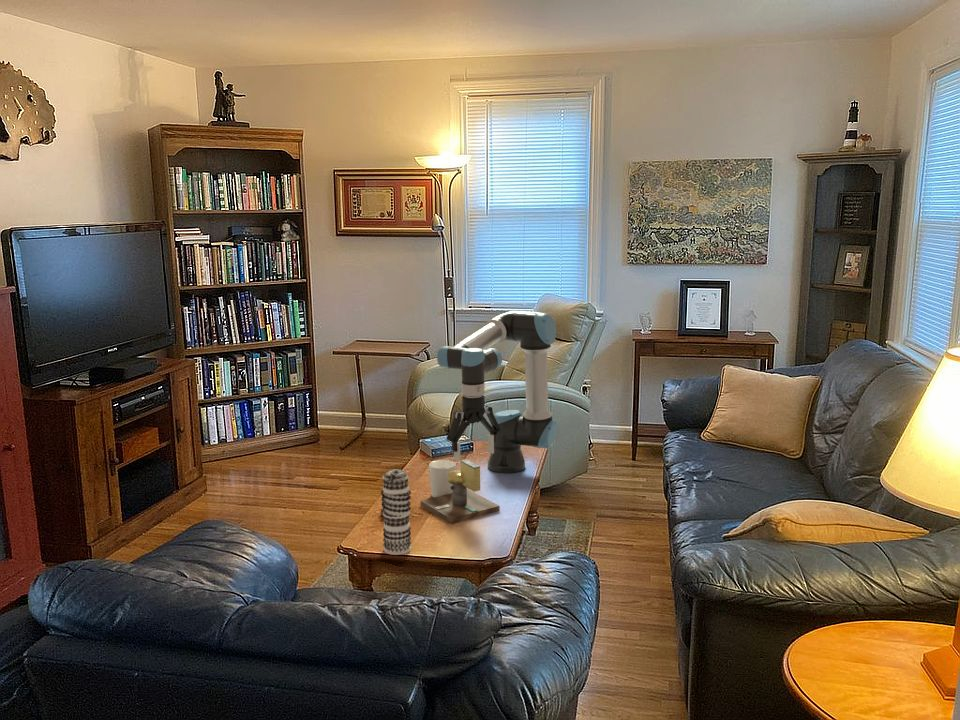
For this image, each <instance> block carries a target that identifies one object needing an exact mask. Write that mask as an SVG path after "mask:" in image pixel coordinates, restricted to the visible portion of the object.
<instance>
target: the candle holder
mask: <svg viewBox="0 0 960 720" xmlns="http://www.w3.org/2000/svg"><path fill="white" fill-rule="evenodd" d="M456 466H457V463H456V462H455V461H452V460H449V459H438V460H433V461H431V462H429V464H428V468H429V479H430V480H429V481H430V482H429V483H430V495H431V498H434V497H438V496H442V495H446V494H451V493H452V490H451V488H450V487H451V486H452V484H451V483H449V482H448V473H449V472H451V471H455V470H457V469H456V468H457V467H456Z"/></svg>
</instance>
